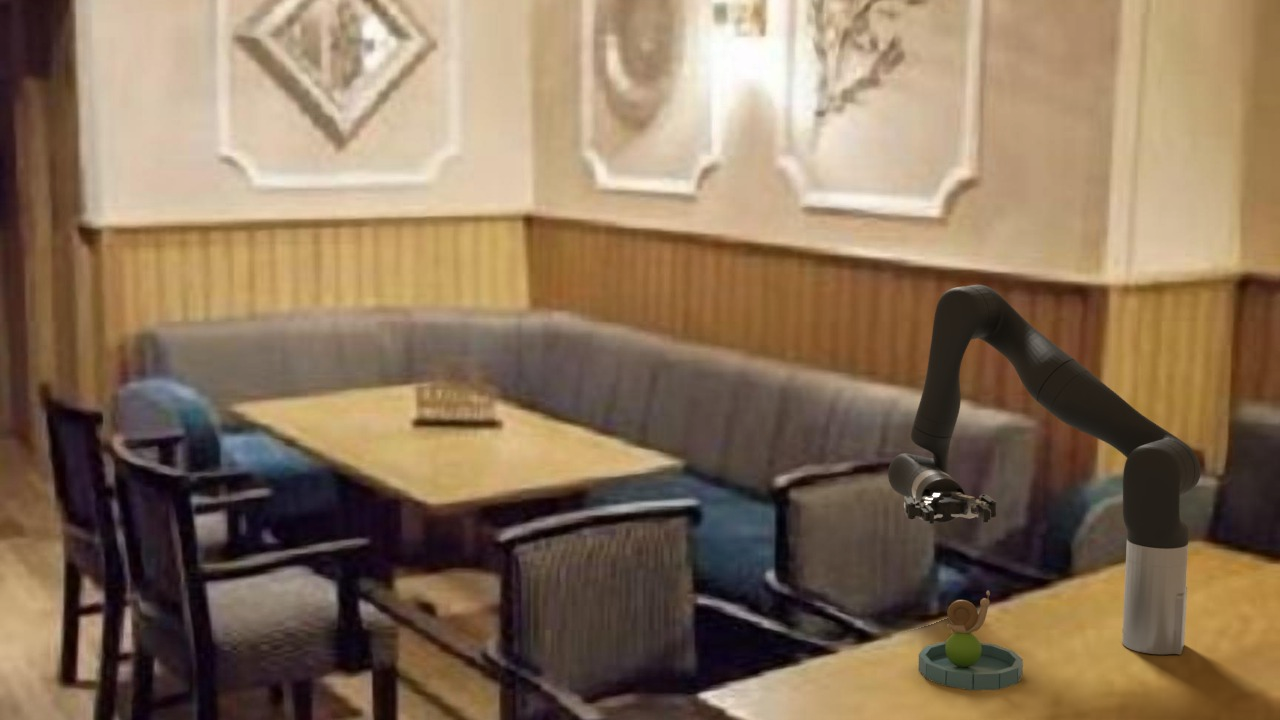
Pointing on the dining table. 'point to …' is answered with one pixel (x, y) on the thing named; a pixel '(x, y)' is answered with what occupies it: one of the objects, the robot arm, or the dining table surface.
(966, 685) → the dish
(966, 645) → the snail figurine
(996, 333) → the robot arm
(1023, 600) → the dining table surface
